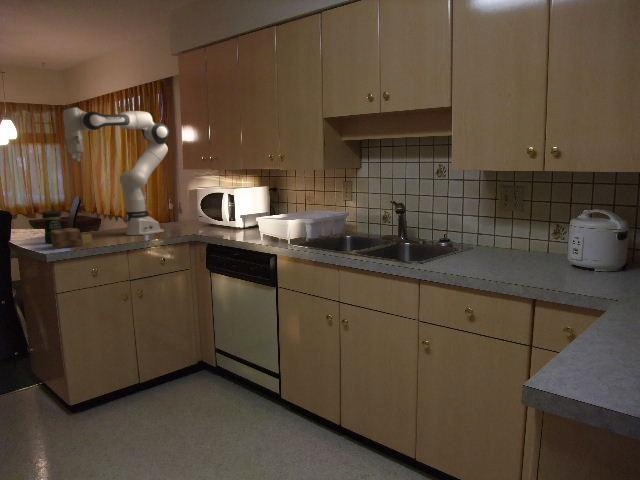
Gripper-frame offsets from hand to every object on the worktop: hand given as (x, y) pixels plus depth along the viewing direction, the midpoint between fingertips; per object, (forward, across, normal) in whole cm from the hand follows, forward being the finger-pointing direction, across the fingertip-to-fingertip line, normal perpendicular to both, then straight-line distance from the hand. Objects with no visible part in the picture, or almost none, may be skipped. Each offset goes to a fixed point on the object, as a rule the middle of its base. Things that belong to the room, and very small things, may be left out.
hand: (76, 161), depth 288 cm
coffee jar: (+46, +8, +15) cm, 49 cm away
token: (+46, -10, +2) cm, 47 cm away
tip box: (+46, -13, +13) cm, 50 cm away
